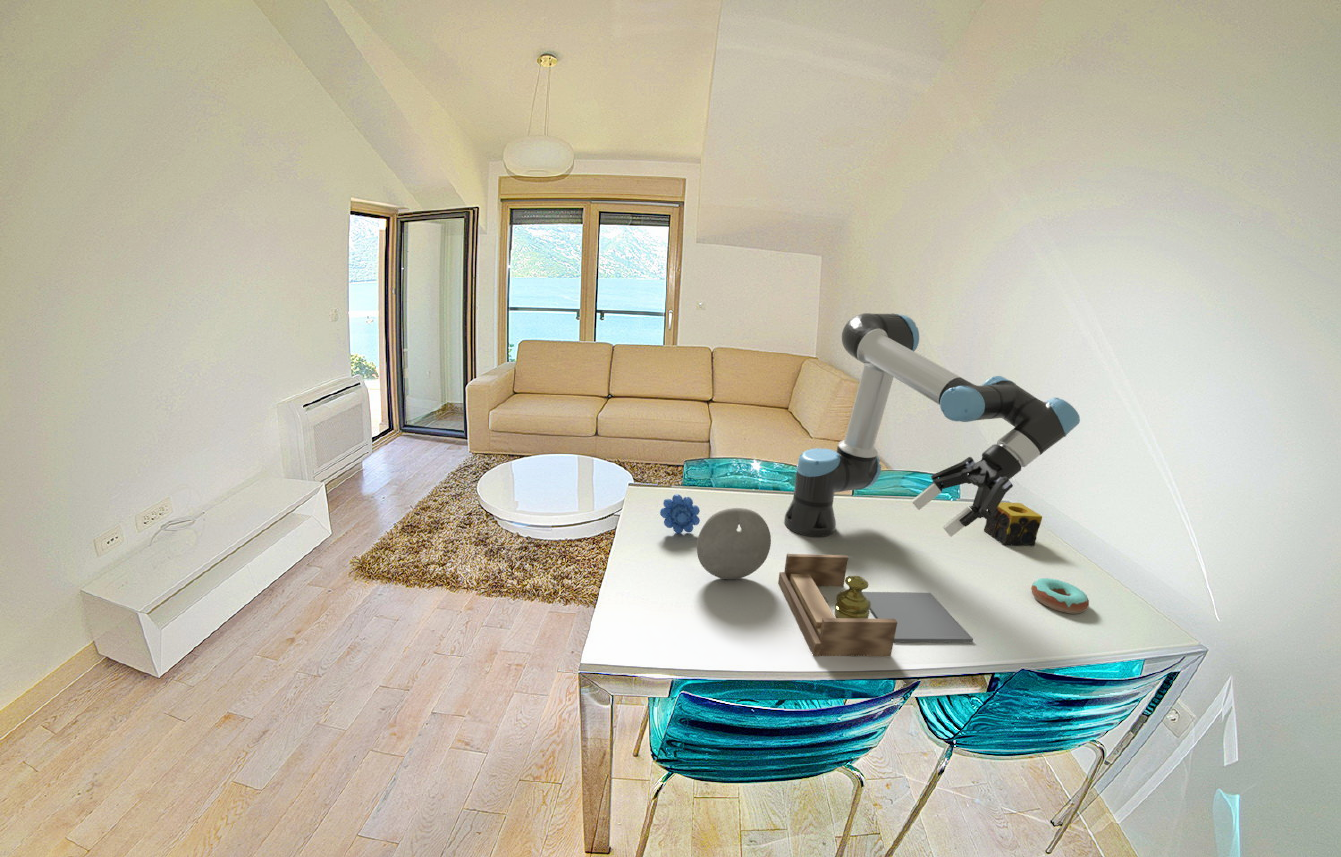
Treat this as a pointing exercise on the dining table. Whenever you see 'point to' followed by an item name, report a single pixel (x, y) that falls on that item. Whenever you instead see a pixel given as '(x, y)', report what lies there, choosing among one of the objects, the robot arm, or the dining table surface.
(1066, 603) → the donut
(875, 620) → the offcut rack
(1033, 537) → the yellow brown cube
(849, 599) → the gold rounded piece
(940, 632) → the charcoal mat
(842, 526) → the dining table surface
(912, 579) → the dining table surface
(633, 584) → the dining table surface
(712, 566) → the grey thick disc
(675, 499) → the blue flower
